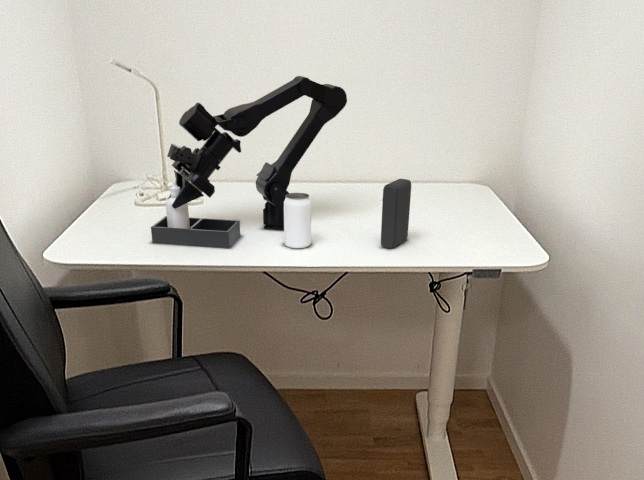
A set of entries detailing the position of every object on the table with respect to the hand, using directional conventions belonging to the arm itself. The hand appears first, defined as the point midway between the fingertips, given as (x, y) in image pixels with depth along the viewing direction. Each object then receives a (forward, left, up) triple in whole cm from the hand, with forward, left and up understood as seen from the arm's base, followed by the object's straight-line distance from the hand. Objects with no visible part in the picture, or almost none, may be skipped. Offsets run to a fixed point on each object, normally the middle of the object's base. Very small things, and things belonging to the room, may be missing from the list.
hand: (171, 205), depth 179 cm
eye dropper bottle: (-1, -1, -7) cm, 7 cm away
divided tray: (-6, -1, -8) cm, 10 cm away
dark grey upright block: (-54, -8, -9) cm, 55 cm away
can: (-31, -2, -9) cm, 32 cm away
